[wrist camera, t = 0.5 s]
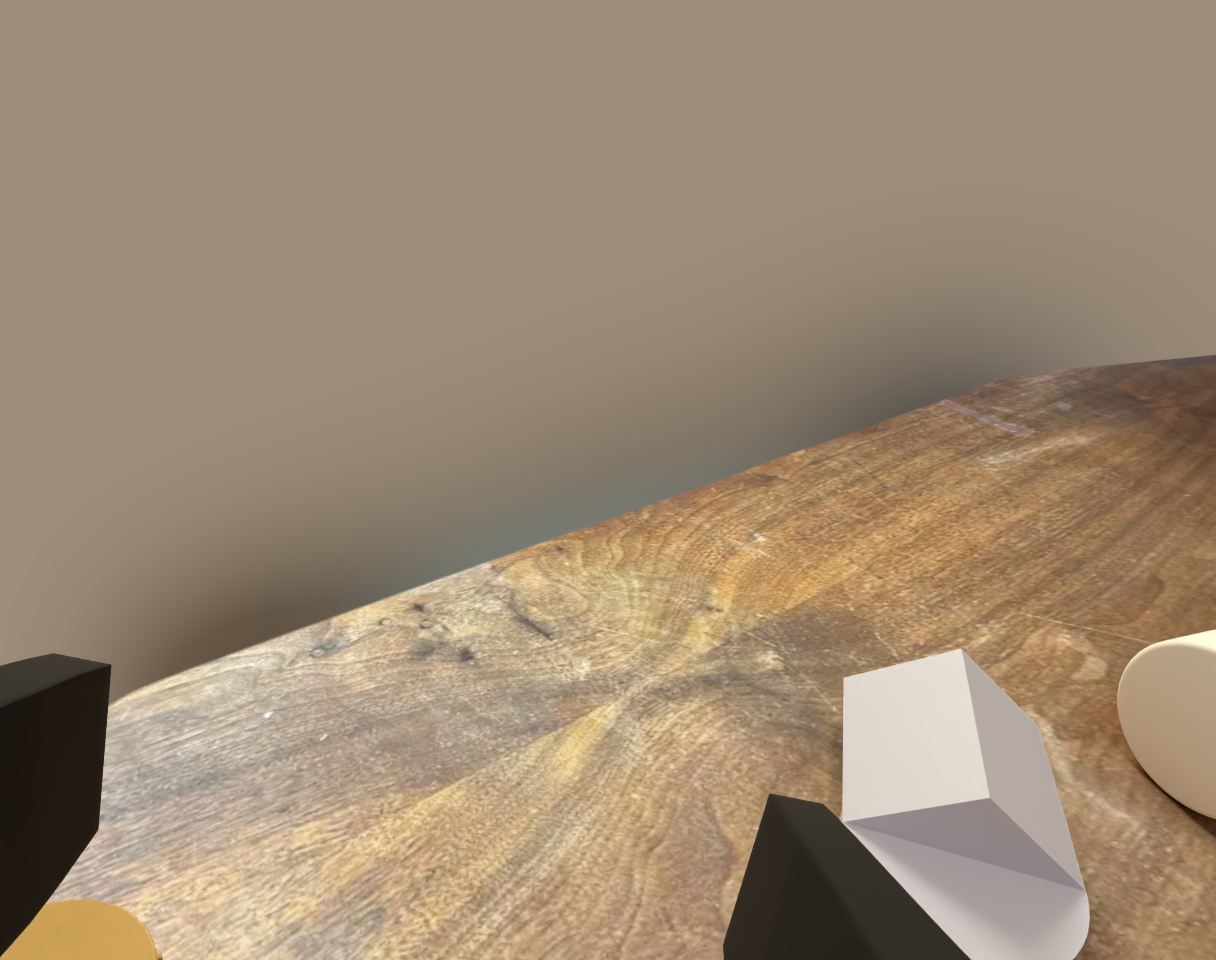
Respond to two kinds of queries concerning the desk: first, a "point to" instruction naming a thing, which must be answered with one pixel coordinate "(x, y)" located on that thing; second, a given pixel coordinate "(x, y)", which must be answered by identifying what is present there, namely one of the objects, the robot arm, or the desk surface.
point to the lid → (83, 934)
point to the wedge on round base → (963, 807)
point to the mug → (1174, 717)
